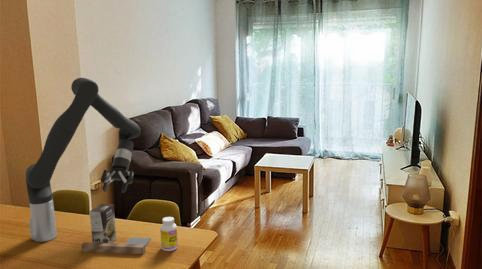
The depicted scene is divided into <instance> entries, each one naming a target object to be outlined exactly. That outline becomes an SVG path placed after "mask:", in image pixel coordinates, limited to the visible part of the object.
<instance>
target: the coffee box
mask: <svg viewBox="0 0 482 269" xmlns="http://www.w3.org/2000/svg"><path fill="white" fill-rule="evenodd" d="M89 219H90V230H91V241H92V242H91V243H114V242H115V241H116V240H117V231H116V230H117V227H116V218H115V204H113V203H112V204H110V203H100V204H99V205H97V206H95V207H94V208H93V209H91V210H90V211H89Z"/></svg>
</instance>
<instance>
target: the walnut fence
mask: <svg viewBox="0 0 482 269" xmlns="http://www.w3.org/2000/svg"><path fill="white" fill-rule="evenodd" d="M81 252H82V253H103V254H123V255H124V254H127V255H144V254H145V253H146V247H145V245H139V244H126V243H114V242H112V243H92V242H85V241H83V243H82V244H81Z"/></svg>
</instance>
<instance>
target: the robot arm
mask: <svg viewBox="0 0 482 269" xmlns="http://www.w3.org/2000/svg"><path fill="white" fill-rule="evenodd" d="M70 89H71V92H72V93H73V95H74V98H73V100H72V102H71V104H70V105H69V107H67V109H66V110H65V111H64V112H62V114H60V115H59V117H57V118H56V120H55V121H54V123H53V124H52V126H51V129H50V130H49V132H48V135H47V137H46V138H45V139H46V140H45V142H44V146H43V150H42V152H41V154H40V156H39V158H38V160H37V161H36V162H35V163H33V164H31V165H30V166H29V167H27V169H26V170H25V182H26V183H25V184H26V189H27V190H26V191H27V197H28V203H29V212H30V218H29V221H28V222H29V230H30V238H31V240H32V241H35V242H37V243H40V242H41V243H43V242H49V241H51V240H53V239H55V238H56V237H57V235H58V234H57V232H58V231H57V225H56V216H55V205H54V197H53V191H52V188H51V187H52V186H51V180H52V177H53V175H54V171H55V170H56V167H57V166H58V165H57V164H58V163H59V161H60V159H61V157H62V156H63V154H64V153H65V151H66V149H67V148H68V146H69V144H70V143H71V141H72V139H73V137H74V135H75V133H76V131H77V129H78V127H79V126H80V123H82V120H83V119H84V116H85V114H86V113H87V111H88V110H89V108H90V107H92V108H93V109H94V110H95V111H97V112H98V114H100V115H101V116H102V118H104V120H106V121H108V123H109V124H111V126H112V127H114V128H115V129H118V145H117V148H116V152H115V154H114V156H113V160H112V161H113V162H112V165H111V169H110V170H107V169H104V170H103V173H102V175H101V178H100V182H101V183H102V184H103V186H102V191H103V192H104V193H107V190H108V187H109V184H111V183H113V182H114V181H122V182H123V183H122V187H121V190H120V191H121V193H122V194H123V193H125V192H126V191H127V188H128V186H129V185H132V184H133V180H134V175H135V173H134V171H133V170H132V169H131V170H129V168H130V164H131V160H132V154H133V150H134V142H133V141H132V140H130V139H136V138H138V137H139V136H141V134H142V133H141V131H142V129H141V127H140V125H138V123H136V121H133V120H132V119H130V118H128V117H126V116H124V114H123V113H122V112H121V111H120V110H119V109H117V108H116V106H114V105H113V104H111V103H110V102H109V101H108V100H106V99H104V97H102V96H101V94H99V85H98V83H97V82H95V81H94V80H92V79H89V78H86V77H77V78H76V79H74V80H73V81H72V83H71V86H70ZM127 176H128V178H127V179H126V177H127Z"/></svg>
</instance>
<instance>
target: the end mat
mask: <svg viewBox="0 0 482 269" xmlns="http://www.w3.org/2000/svg"><path fill="white" fill-rule="evenodd" d="M151 240H152V238H151V237H129V239H128V240H127V241H126V242H125V244H139V245H145V248H146V247H147V245H148V244H149V242H150V241H151Z"/></svg>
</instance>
